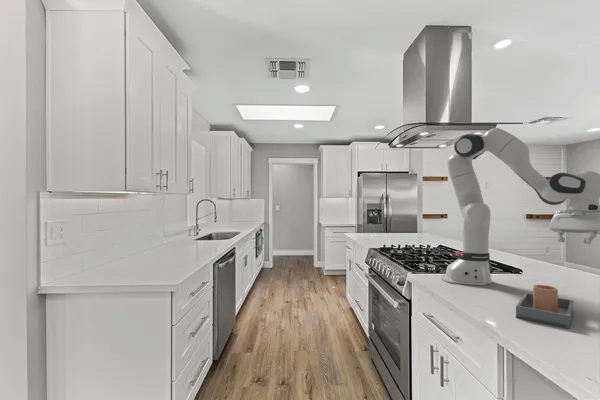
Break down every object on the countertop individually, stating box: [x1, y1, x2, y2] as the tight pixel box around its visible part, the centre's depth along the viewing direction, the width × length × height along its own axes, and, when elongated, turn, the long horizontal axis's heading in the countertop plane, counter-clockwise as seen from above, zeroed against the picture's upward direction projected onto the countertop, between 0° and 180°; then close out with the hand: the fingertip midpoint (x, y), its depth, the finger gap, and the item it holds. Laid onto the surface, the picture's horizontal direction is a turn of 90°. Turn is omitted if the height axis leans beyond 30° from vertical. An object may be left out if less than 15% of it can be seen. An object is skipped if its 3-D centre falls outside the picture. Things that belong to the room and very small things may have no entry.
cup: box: [532, 284, 559, 313], centre depth 112 cm, size 6×6×8 cm
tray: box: [515, 292, 574, 330], centre depth 112 cm, size 20×14×4 cm
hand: (573, 242), depth 126 cm, fingers open, 8 cm apart
